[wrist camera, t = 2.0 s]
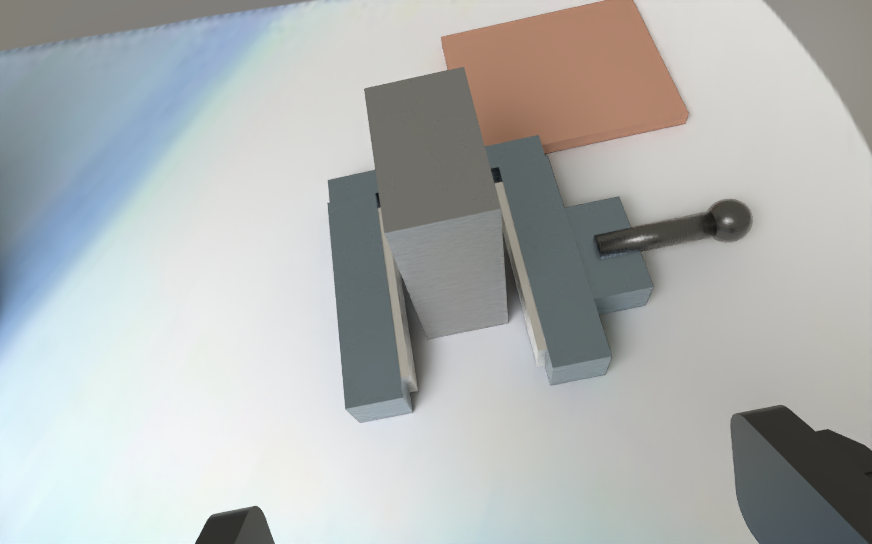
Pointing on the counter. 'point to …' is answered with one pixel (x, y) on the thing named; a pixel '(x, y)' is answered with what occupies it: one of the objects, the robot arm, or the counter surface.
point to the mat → (567, 77)
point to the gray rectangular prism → (439, 201)
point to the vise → (532, 267)
